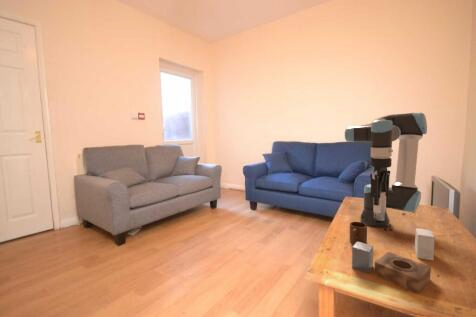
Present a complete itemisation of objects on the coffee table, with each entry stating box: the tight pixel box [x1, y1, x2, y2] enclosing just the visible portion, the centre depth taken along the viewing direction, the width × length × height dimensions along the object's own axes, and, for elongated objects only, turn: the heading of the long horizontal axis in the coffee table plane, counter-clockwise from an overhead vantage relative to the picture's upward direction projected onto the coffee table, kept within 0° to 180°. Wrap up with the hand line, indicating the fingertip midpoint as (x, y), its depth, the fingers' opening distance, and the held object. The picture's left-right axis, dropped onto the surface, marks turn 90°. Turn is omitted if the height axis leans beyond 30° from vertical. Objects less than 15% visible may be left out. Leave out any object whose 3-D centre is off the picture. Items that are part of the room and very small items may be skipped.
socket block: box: [373, 251, 432, 294], centre depth 86 cm, size 14×12×5 cm
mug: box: [349, 221, 368, 246], centre depth 111 cm, size 12×8×9 cm, turn 139°
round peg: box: [374, 191, 385, 221], centre depth 99 cm, size 4×4×12 cm
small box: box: [414, 227, 435, 261], centre depth 100 cm, size 8×6×10 cm
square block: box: [351, 242, 374, 275], centre depth 93 cm, size 6×6×9 cm
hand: (379, 210), depth 99 cm, fingers closed on round peg, 4 cm apart
